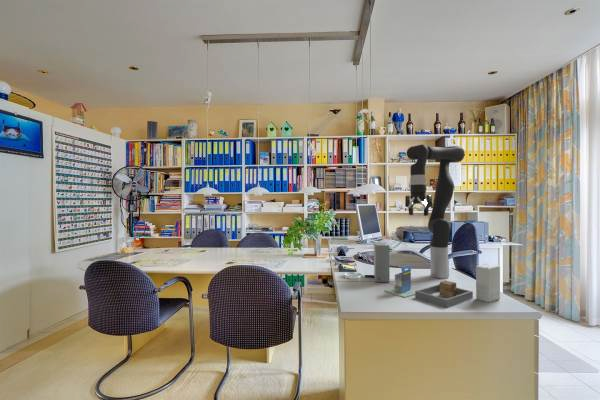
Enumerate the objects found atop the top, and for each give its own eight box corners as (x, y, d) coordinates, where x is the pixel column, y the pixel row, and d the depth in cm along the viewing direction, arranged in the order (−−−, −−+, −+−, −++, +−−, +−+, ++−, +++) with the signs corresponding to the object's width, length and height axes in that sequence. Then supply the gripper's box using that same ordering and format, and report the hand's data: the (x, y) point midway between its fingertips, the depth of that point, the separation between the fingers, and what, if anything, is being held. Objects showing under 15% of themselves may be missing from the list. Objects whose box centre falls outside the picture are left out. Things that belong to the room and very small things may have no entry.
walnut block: (445, 293, 138) (445, 280, 138) (456, 295, 134) (456, 282, 134) (439, 295, 136) (439, 282, 136) (450, 297, 131) (450, 284, 131)
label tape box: (403, 288, 145) (403, 263, 145) (411, 289, 142) (411, 264, 142) (394, 292, 139) (394, 266, 139) (402, 294, 136) (402, 267, 136)
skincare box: (487, 295, 133) (486, 263, 133) (501, 299, 128) (500, 265, 128) (475, 298, 130) (474, 265, 130) (489, 302, 124) (488, 267, 124)
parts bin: (441, 289, 143) (440, 283, 143) (472, 298, 130) (472, 291, 130) (415, 297, 132) (415, 290, 132) (447, 307, 120) (447, 300, 120)
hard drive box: (390, 283, 156) (389, 245, 156) (375, 282, 158) (374, 245, 158) (387, 275, 171) (386, 241, 171) (373, 275, 173) (373, 241, 173)
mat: (400, 286, 149) (400, 285, 149) (421, 292, 139) (421, 291, 139) (384, 291, 142) (384, 290, 142) (404, 297, 132) (404, 296, 132)
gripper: (401, 184, 155) (402, 215, 155) (425, 183, 143) (426, 216, 143) (410, 184, 159) (411, 214, 159) (435, 183, 147) (435, 215, 147)
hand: (418, 215), depth 151 cm, fingers open, 8 cm apart
